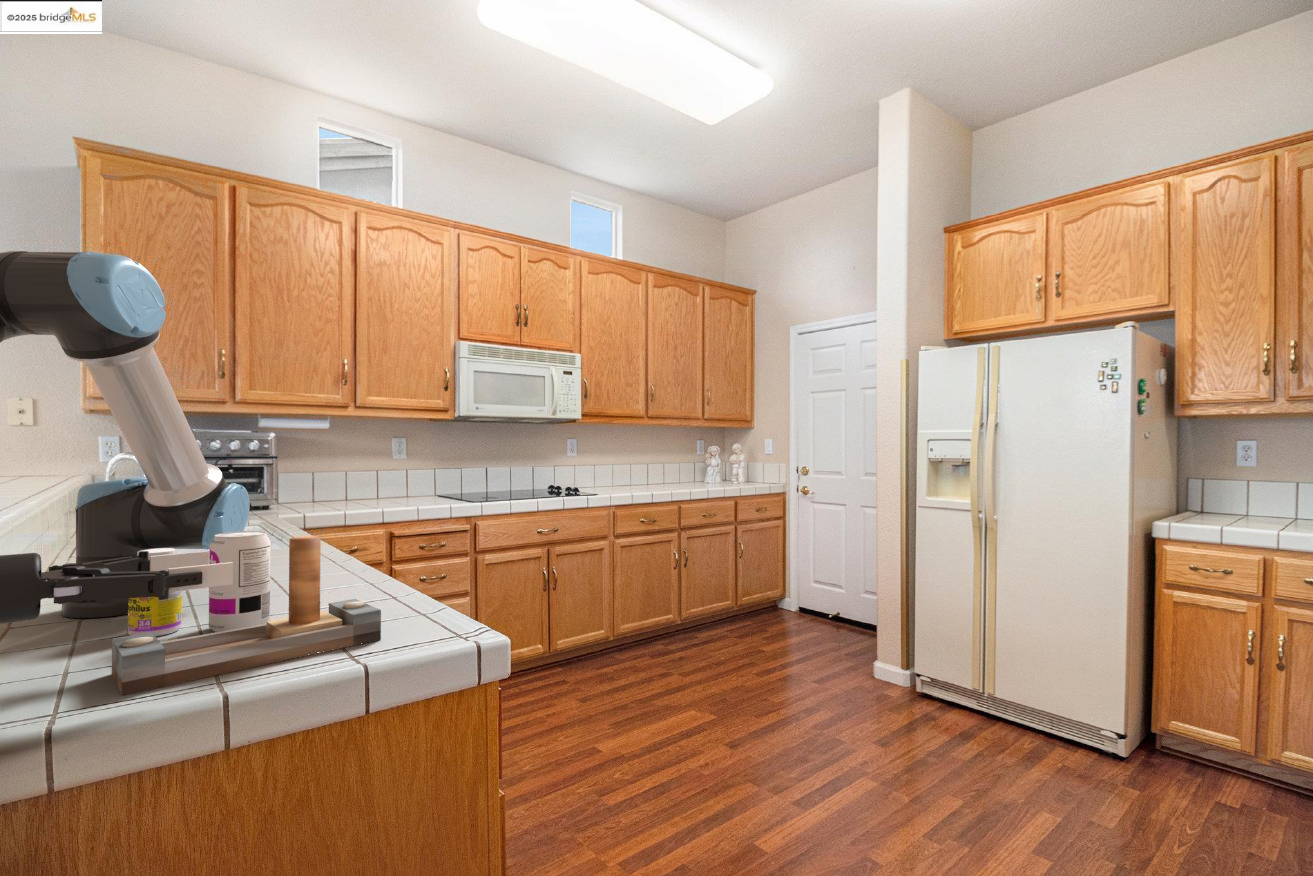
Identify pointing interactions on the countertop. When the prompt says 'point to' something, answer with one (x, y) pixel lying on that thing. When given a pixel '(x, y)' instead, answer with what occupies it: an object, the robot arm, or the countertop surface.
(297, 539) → the carriage
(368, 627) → the track
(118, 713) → the countertop surface
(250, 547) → the supplement can
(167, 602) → the supplement bottle
